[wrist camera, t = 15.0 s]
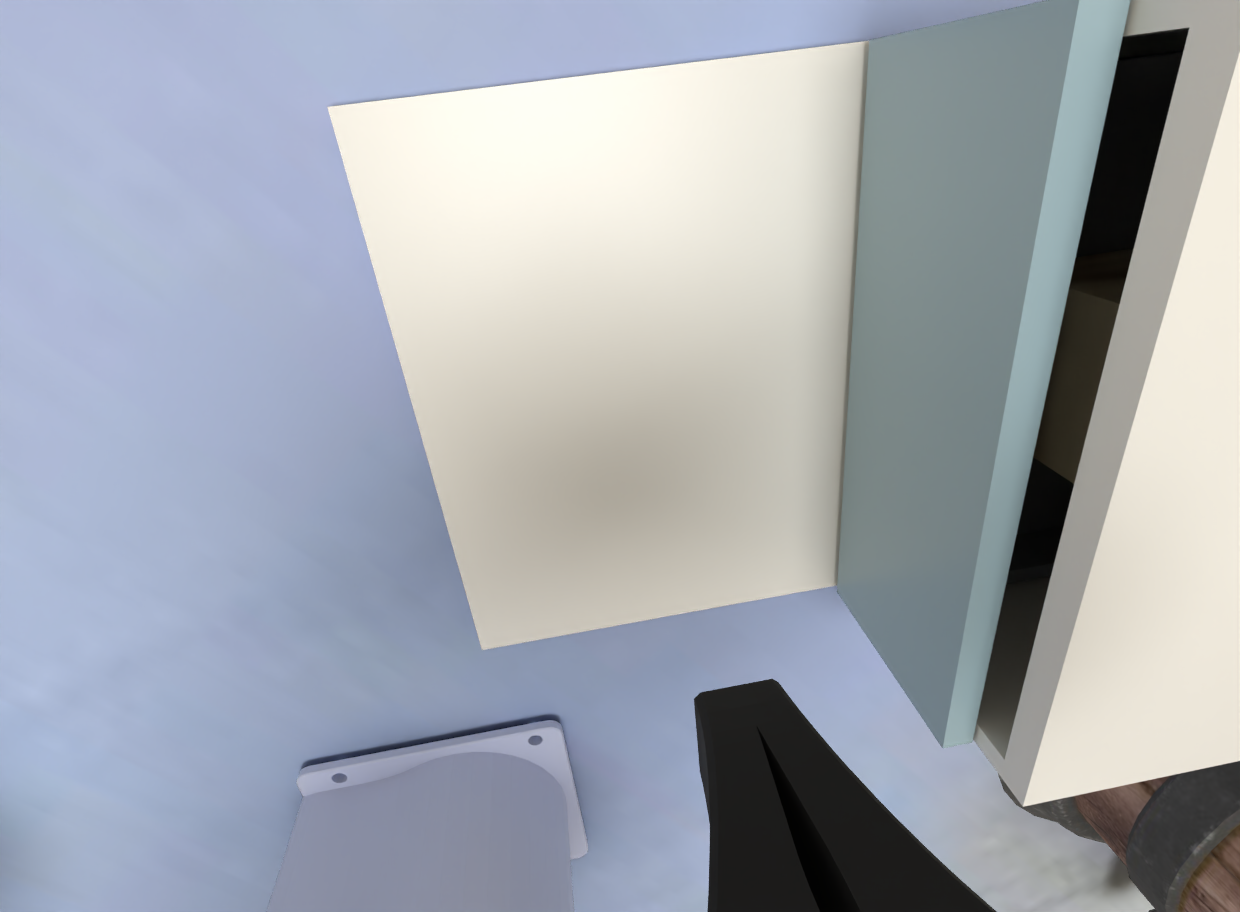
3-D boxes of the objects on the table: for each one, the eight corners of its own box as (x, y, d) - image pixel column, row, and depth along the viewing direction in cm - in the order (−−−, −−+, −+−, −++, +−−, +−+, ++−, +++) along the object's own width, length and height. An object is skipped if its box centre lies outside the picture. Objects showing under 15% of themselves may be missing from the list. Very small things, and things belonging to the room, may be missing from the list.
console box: (482, 641, 22) (463, 924, 14) (332, 107, 15) (120, 94, 7) (1145, 521, 24) (1450, 716, 16) (1318, -13, 16) (2050, -135, 8)
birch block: (980, 422, 19) (1116, 511, 15) (1004, 268, 17) (1171, 320, 13) (1121, 398, 20) (1296, 478, 15) (1163, 243, 17) (1380, 285, 13)
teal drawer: (836, 591, 22) (942, 748, 17) (869, 40, 15) (1080, -8, 9) (1139, 536, 23) (1335, 668, 18) (1316, -15, 16) (1758, -88, 10)
